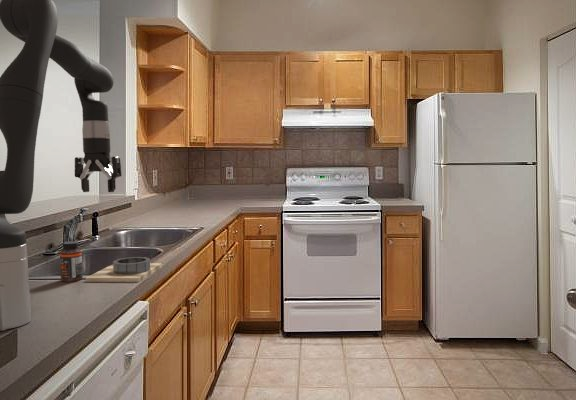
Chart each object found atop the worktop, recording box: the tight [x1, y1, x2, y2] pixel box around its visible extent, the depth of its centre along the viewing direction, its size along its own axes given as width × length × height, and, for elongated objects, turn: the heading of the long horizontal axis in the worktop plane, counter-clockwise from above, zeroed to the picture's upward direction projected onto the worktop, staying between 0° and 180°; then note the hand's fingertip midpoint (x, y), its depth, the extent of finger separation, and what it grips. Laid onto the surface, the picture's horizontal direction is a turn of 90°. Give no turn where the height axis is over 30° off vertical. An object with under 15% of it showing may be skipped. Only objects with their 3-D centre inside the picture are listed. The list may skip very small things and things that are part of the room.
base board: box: [85, 262, 163, 283], centre depth 155 cm, size 20×16×1 cm
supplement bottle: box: [59, 240, 84, 283], centre depth 148 cm, size 6×6×11 cm
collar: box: [112, 256, 151, 274], centre depth 155 cm, size 11×11×3 cm
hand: (98, 192), depth 149 cm, fingers open, 8 cm apart
